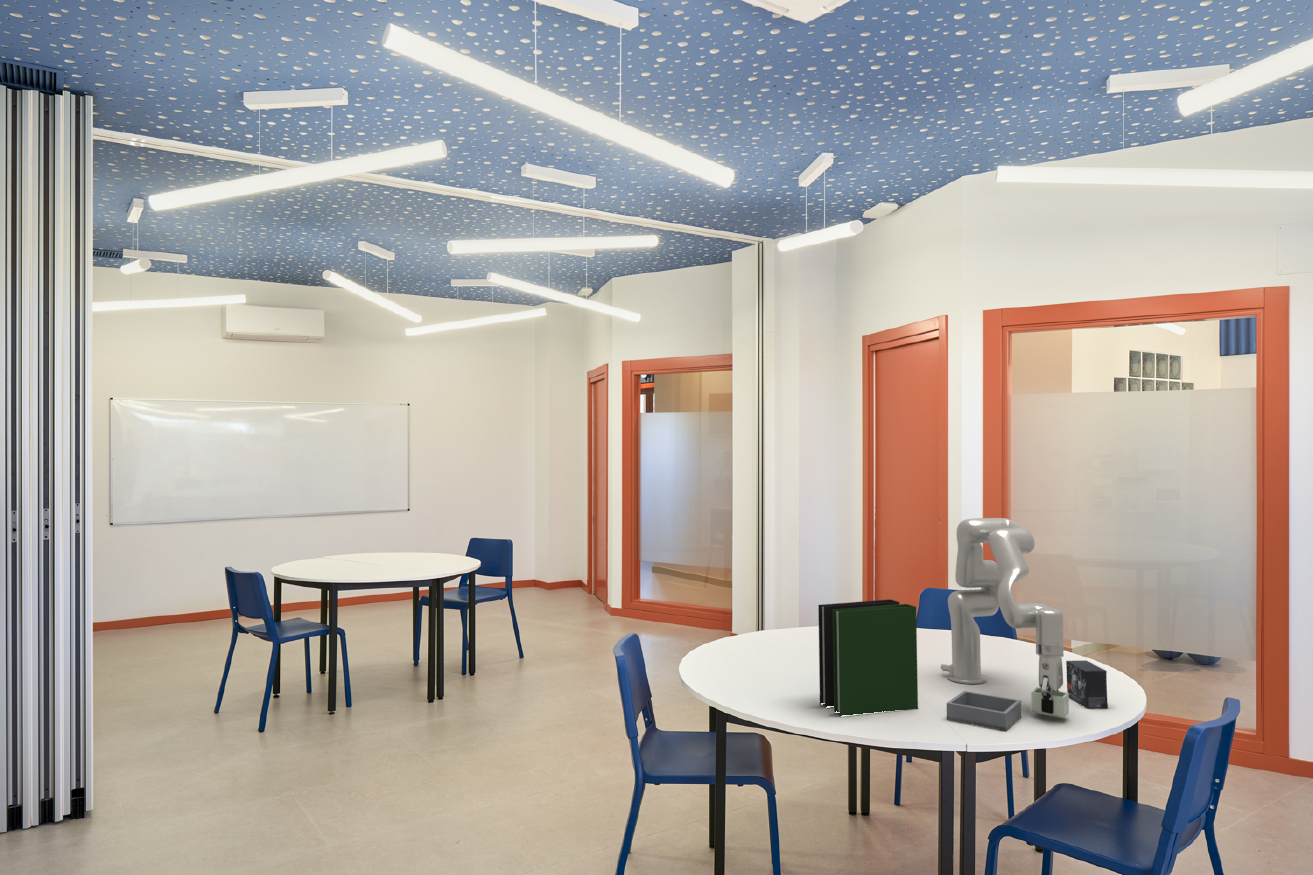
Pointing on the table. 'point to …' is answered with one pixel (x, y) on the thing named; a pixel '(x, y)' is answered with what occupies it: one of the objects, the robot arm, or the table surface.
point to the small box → (1087, 684)
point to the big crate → (984, 710)
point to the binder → (868, 656)
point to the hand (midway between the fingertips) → (1050, 708)
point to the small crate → (1058, 703)
